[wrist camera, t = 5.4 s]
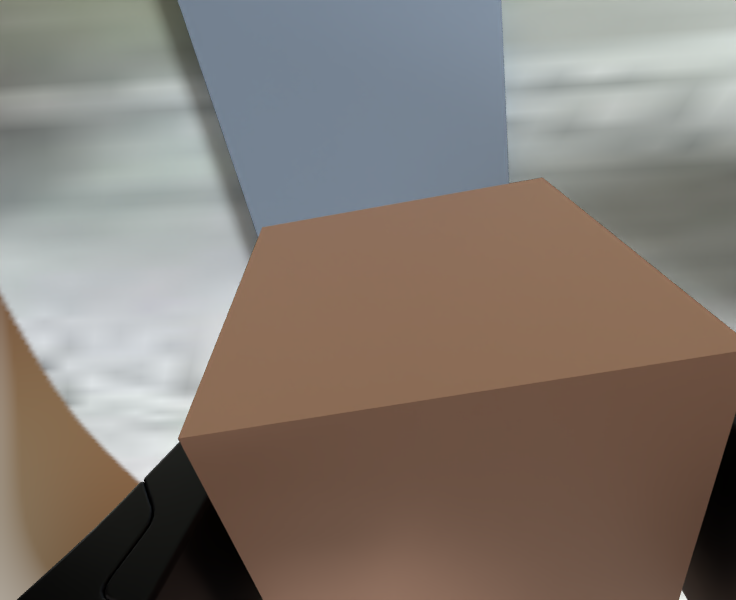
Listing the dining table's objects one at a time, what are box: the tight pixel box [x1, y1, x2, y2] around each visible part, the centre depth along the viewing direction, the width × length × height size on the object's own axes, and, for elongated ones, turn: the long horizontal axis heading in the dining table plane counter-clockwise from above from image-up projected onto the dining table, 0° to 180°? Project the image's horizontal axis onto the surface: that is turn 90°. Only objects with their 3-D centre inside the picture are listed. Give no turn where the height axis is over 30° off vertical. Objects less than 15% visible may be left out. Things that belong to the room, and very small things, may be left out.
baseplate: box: [178, 0, 509, 237], centre depth 21 cm, size 10×30×1 cm, turn 11°
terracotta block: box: [178, 178, 736, 600], centre depth 8 cm, size 5×5×5 cm
